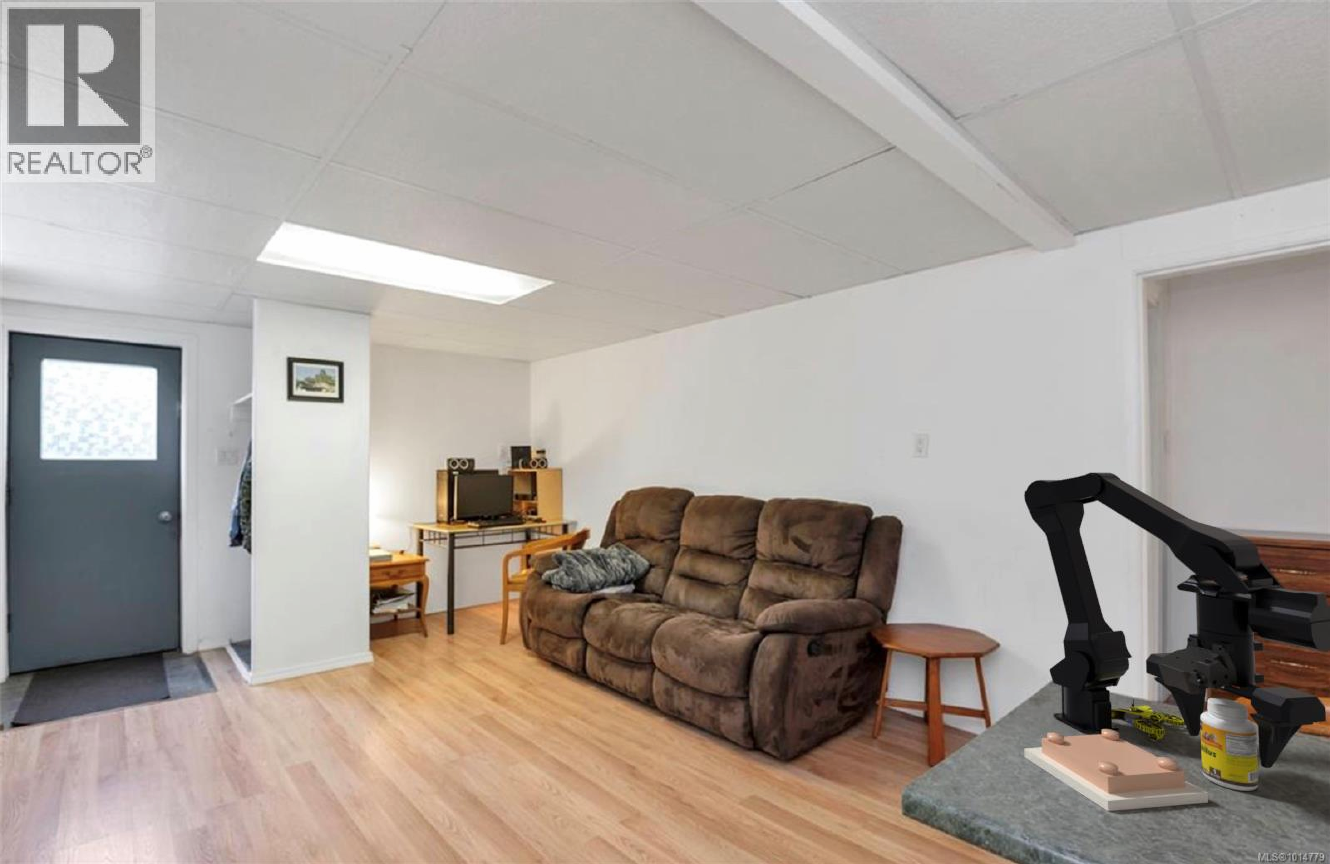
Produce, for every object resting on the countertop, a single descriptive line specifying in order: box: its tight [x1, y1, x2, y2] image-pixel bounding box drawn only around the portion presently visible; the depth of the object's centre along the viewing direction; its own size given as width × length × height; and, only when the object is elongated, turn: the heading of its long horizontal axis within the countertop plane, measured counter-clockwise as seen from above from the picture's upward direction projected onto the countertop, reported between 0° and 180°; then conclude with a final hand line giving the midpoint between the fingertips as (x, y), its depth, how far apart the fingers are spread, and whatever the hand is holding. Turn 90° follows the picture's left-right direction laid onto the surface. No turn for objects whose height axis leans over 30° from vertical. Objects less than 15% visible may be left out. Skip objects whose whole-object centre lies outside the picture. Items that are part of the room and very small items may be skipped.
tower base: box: [1024, 729, 1209, 812], centre depth 84 cm, size 14×14×4 cm
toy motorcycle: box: [1112, 698, 1186, 742], centre depth 99 cm, size 12×4×7 cm
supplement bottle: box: [1200, 697, 1259, 792], centre depth 84 cm, size 6×6×10 cm
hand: (1228, 750), depth 83 cm, fingers open, 9 cm apart
